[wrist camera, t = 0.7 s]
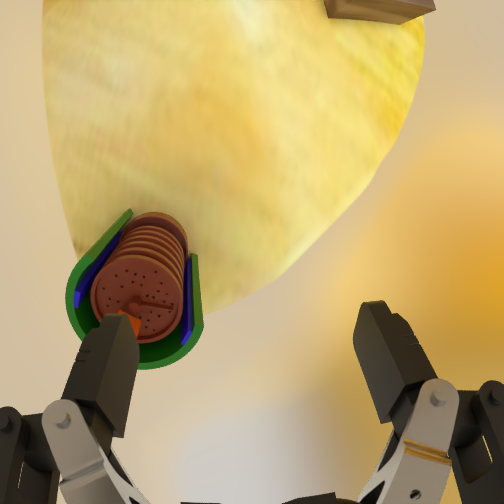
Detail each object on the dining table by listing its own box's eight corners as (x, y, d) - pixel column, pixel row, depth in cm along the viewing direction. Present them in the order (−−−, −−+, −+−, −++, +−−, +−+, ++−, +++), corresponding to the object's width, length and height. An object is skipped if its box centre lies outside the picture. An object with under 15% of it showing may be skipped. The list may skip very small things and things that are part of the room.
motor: (208, 230, 36) (227, 327, 17) (181, 296, 38) (179, 425, 19) (124, 198, 33) (50, 264, 14) (102, 268, 35) (39, 380, 16)
